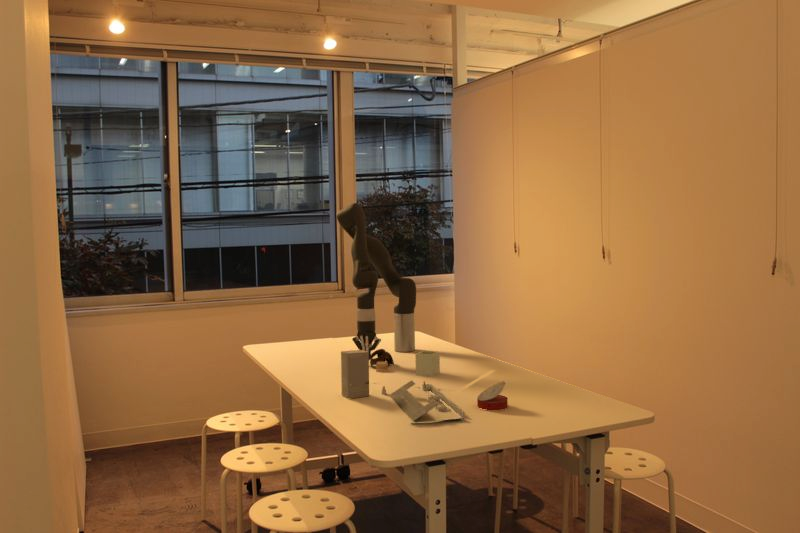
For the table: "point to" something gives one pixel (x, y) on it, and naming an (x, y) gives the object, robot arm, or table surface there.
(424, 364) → the celadon pot
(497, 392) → the canned food
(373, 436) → the table surface
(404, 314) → the robot arm
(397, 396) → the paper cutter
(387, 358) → the pottery mug
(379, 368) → the oak block
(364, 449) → the table surface
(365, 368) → the skincare box
